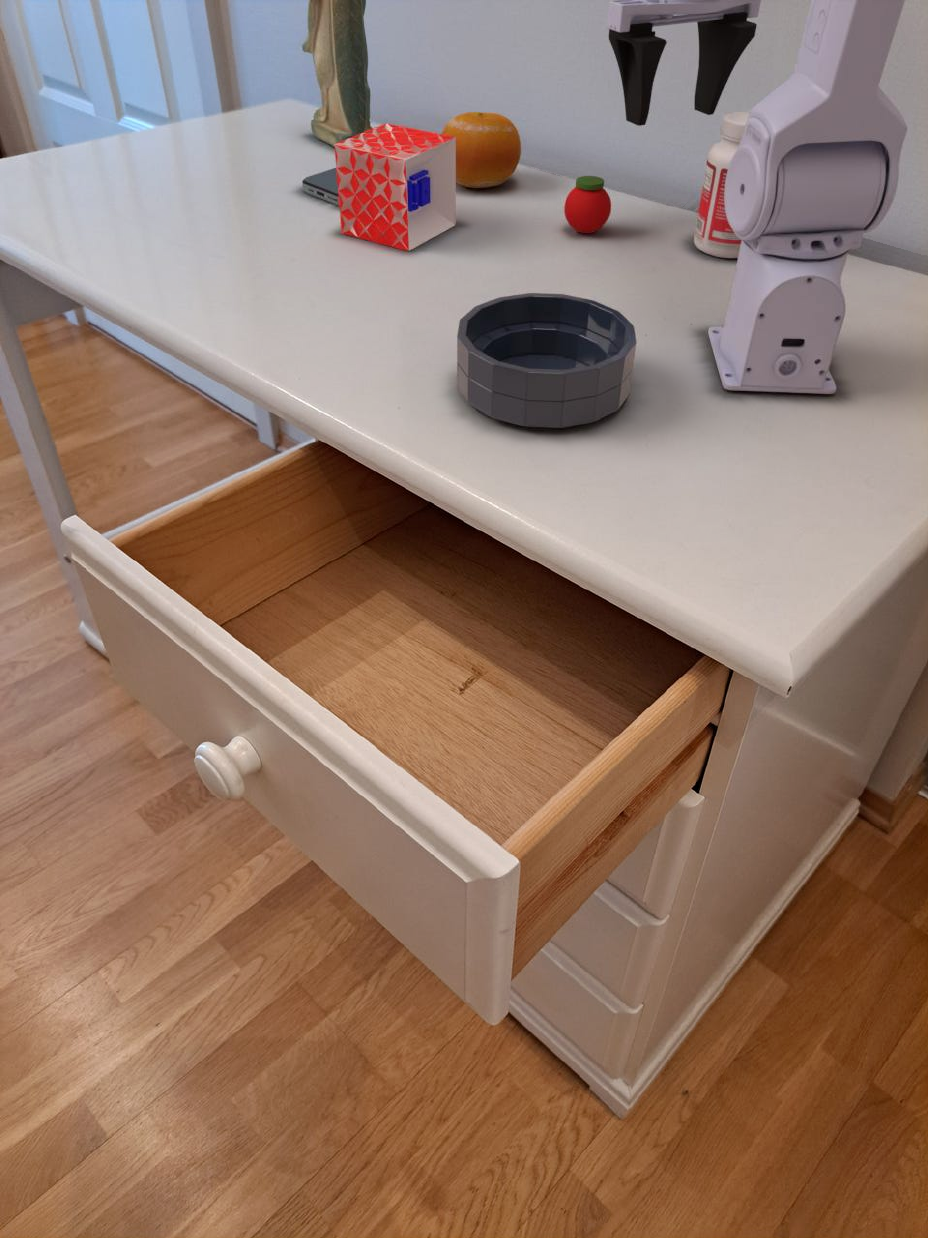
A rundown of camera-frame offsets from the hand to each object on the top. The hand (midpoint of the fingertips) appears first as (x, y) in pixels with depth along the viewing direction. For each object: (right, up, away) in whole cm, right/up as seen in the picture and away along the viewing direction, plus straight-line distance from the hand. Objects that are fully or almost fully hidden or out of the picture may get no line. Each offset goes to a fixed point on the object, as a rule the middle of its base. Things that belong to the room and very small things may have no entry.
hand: (670, 117), depth 83 cm
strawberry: (-7, -8, +6) cm, 12 cm away
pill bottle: (+6, -11, +3) cm, 13 cm away
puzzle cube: (-25, -8, +6) cm, 27 cm away
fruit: (-17, +1, +16) cm, 23 cm away
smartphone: (-28, +1, +16) cm, 32 cm away
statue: (-33, +12, +27) cm, 44 cm away
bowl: (-13, -29, -17) cm, 36 cm away
